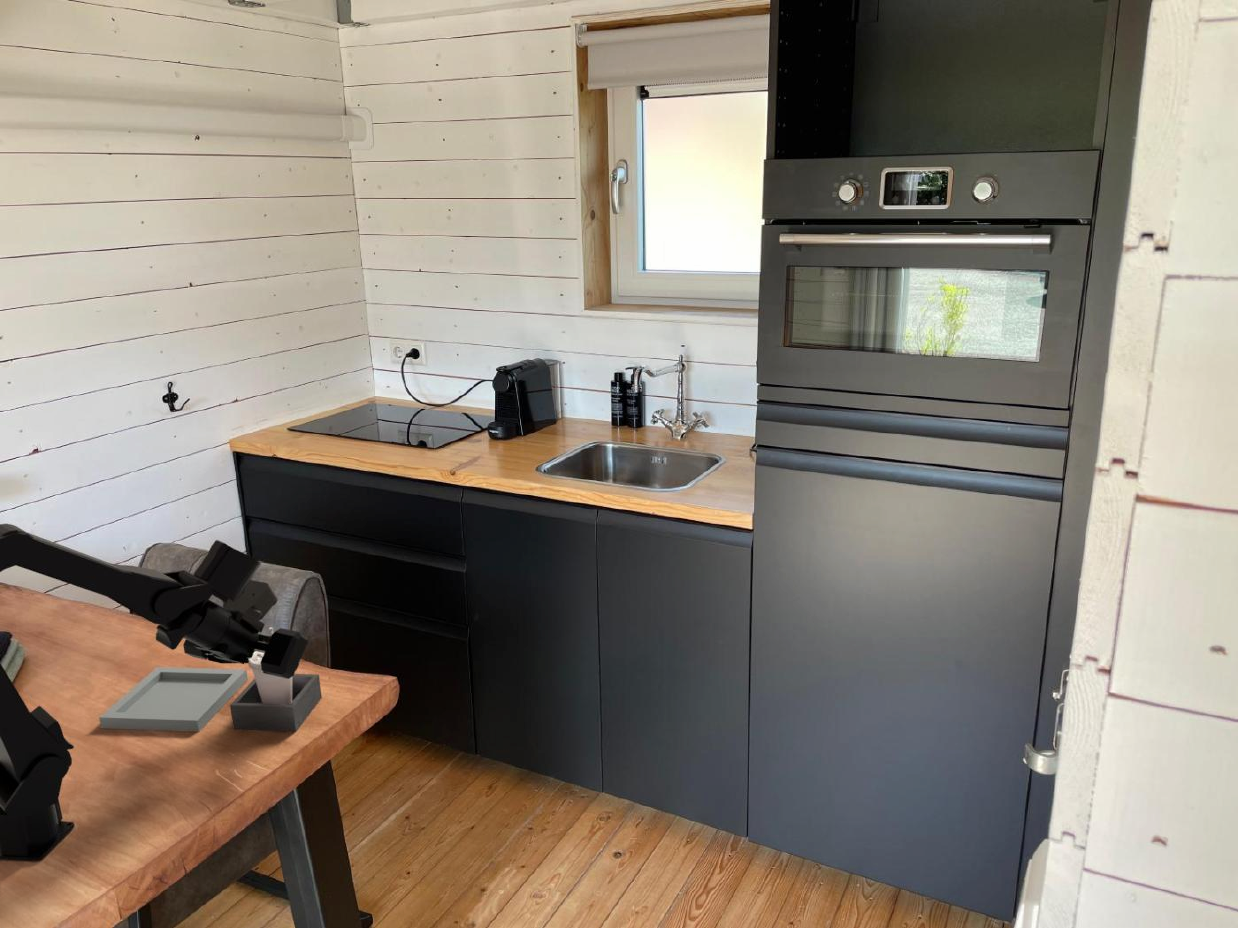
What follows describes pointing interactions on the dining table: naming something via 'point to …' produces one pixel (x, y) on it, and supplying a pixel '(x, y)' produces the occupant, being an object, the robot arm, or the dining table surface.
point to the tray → (174, 699)
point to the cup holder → (276, 706)
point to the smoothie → (270, 682)
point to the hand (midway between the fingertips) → (279, 663)
